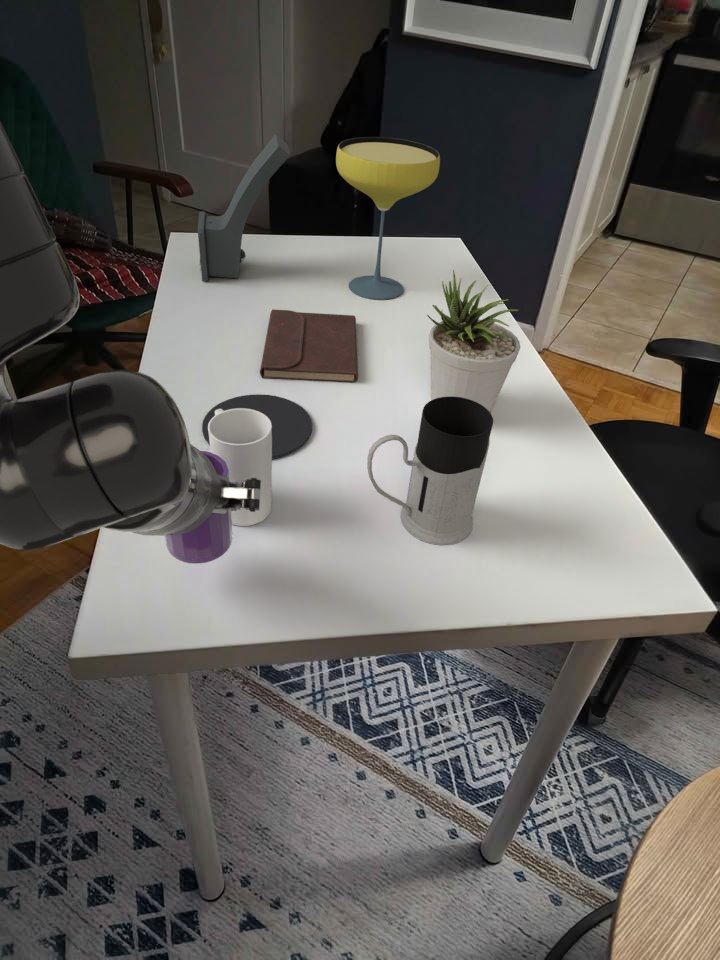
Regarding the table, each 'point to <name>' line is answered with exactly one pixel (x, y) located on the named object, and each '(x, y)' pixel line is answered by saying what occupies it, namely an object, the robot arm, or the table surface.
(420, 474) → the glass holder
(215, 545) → the cup
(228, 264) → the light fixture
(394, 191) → the cocktail glass
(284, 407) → the mat
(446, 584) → the table surface
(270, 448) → the mug
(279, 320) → the notebook
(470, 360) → the potted plant
